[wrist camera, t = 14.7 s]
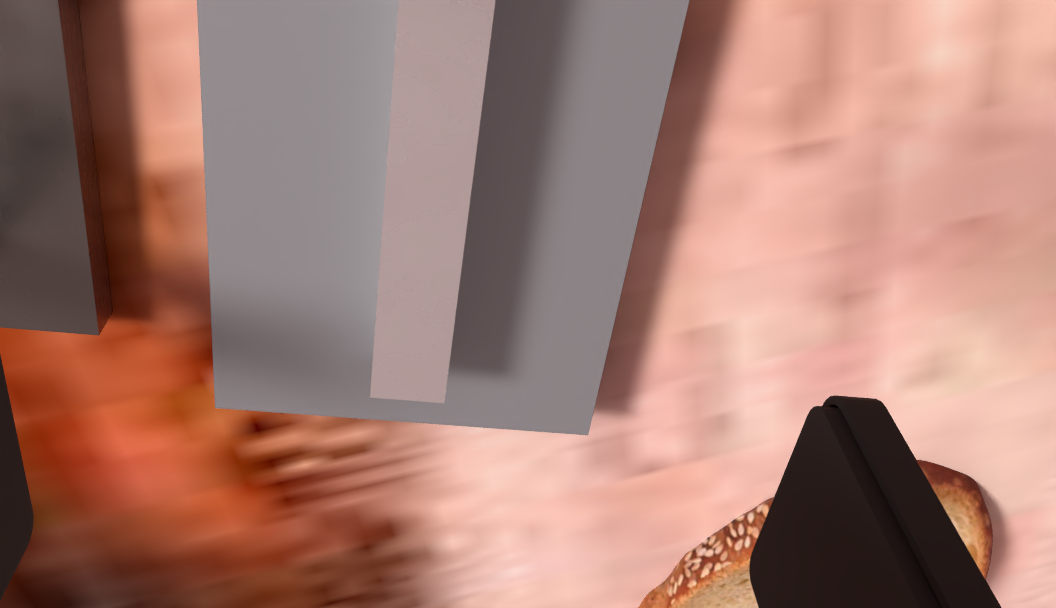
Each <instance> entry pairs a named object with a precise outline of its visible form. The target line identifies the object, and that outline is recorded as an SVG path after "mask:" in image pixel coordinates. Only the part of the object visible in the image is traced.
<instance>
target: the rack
mask: <svg viewBox="0 0 1056 608" xmlns="http://www.w3.org/2000/svg"><path fill="white" fill-rule="evenodd" d="M111 314H112V303H111V294H110V285H109V276H108V267H107V258H106V249H105V240H104V231H103V223H102V214H101V205H100V196H99V187H98V178H97V169H96V160H95V151H94V142H93V133H92V124H91V115H90V106H89V97H88V88H87V80H86V71H85V62H84V53H83V44H82V35H81V26H80V17H79V8H78V0H0V327H3V328H15V329H28V330H40V331H52V332H65V333H77V334H89V335H100V333H101V331H102V329H103V328H104V326H105V324H106V322H107V321H108V319H109V317H110V315H111Z"/></svg>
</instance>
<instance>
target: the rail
mask: <svg viewBox="0 0 1056 608" xmlns="http://www.w3.org/2000/svg"><path fill="white" fill-rule="evenodd" d="M494 8H495V0H399V3H398V17H397V31H396V45H395V58H394V72H393V86H392V100H391V114H390V128H389V141H388V155H387V169H386V183H385V197H384V210H383V224H382V238H381V252H380V266H379V280H378V293H377V307H376V321H375V335H374V349H373V362H372V376H371V390H370V398H383V399H395V400H408V401H421V402H434V403H444V402H445V394H446V386H447V378H448V371H449V363H450V355H451V347H452V339H453V331H454V323H455V315H456V308H457V300H458V292H459V284H460V276H461V268H462V260H463V252H464V245H465V237H466V229H467V221H468V213H469V205H470V197H471V189H472V182H473V174H474V166H475V158H476V150H477V142H478V134H479V126H480V119H481V111H482V103H483V95H484V87H485V79H486V71H487V63H488V56H489V48H490V40H491V32H492V24H493V16H494Z"/></svg>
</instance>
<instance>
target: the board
mask: <svg viewBox="0 0 1056 608" xmlns="http://www.w3.org/2000/svg"><path fill="white" fill-rule="evenodd" d="M398 3H399V0H197V11H198V33H199V56H200V78H201V101H202V123H203V146H204V168H205V191H206V213H207V235H208V258H209V280H210V303H211V325H212V348H213V370H214V392H215V408H223V409H237V410H251V411H264V412H278V413H292V414H305V415H319V416H333V417H346V418H360V419H374V420H387V421H401V422H415V423H429V424H442V425H456V426H470V427H483V428H497V429H511V430H524V431H538V432H552V433H565V434H579V435H588V433H589V429H590V425H591V420H592V416H593V412H594V407H595V403H596V399H597V394H598V390H599V386H600V382H601V377H602V373H603V369H604V364H605V360H606V356H607V352H608V347H609V343H610V339H611V334H612V330H613V326H614V322H615V317H616V313H617V309H618V304H619V300H620V296H621V292H622V287H623V283H624V279H625V274H626V270H627V266H628V262H629V257H630V253H631V249H632V244H633V240H634V236H635V232H636V227H637V223H638V219H639V214H640V210H641V206H642V202H643V197H644V193H645V189H646V184H647V180H648V176H649V172H650V167H651V163H652V159H653V154H654V150H655V146H656V142H657V137H658V133H659V129H660V124H661V120H662V116H663V112H664V107H665V103H666V99H667V94H668V90H669V86H670V81H671V77H672V73H673V69H674V64H675V60H676V56H677V51H678V47H679V43H680V39H681V34H682V30H683V26H684V21H685V17H686V13H687V9H688V4H689V0H495V8H494V16H493V24H492V32H491V40H490V48H489V56H488V63H487V71H486V79H485V87H484V95H483V103H482V111H481V119H480V126H479V134H478V142H477V150H476V158H475V166H474V174H473V182H472V189H471V197H470V205H469V213H468V221H467V229H466V237H465V245H464V252H463V260H462V268H461V276H460V284H459V292H458V300H457V308H456V315H455V323H454V331H453V339H452V347H451V355H450V363H449V371H448V378H447V386H446V394H445V402H444V403H434V402H421V401H408V400H395V399H383V398H370V390H371V376H372V362H373V349H374V335H375V321H376V307H377V293H378V280H379V266H380V252H381V238H382V224H383V210H384V197H385V183H386V169H387V155H388V141H389V128H390V114H391V100H392V86H393V72H394V58H395V45H396V31H397V17H398Z"/></svg>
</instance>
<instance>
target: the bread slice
mask: <svg viewBox="0 0 1056 608" xmlns="http://www.w3.org/2000/svg"><path fill="white" fill-rule="evenodd" d="M917 462H918V464H919V466H920V467H921V469H922V471H923V472H924V474H925V476H926V478H927V479H928V481H929V483H930V485H931V486H932V488H933V490H934V492H935V493H936V495H937V497H938V499H939V500H940V502H941V504H942V505H943V507H944V509H945V511H946V512H947V514H948V516H949V518H950V519H951V521H952V523H953V525H954V526H955V528H956V530H957V531H958V533H959V535H960V537H961V538H962V540H963V542H964V544H965V545H966V547H967V549H968V551H969V552H970V554H971V556H972V557H973V559H974V561H975V563H976V564H977V566H978V568H979V570H980V571H981V573H982V575H983V577H984V578H985V579H986V576H987V573H988V569H989V565H990V560H991V553H992V542H993V533H992V525H991V521H990V517H989V513H988V510H987V507H986V505H985V502H984V499H983V497H982V494H981V492H980V489H979V487H978V485H977V483H976V482H975V481H974V480H973V479H972V478H971V477H969V476H967V475H965V474H963V473H960V472H957V471H955V470H952V469H949V468H946V467H944V466H941V465H938V464H934V463H931V462H927V461H922V460H917ZM773 499H774V497H773V498H770V499H768V500H766V501H764V502H763V503H761V504H760V505H759V506H757V507H756V508H754V509H753V510H751V511H749V512H747V513H745V514H743V515H741V516H739V517H738V518H736V519H735V520H733V521H732V522H731V523H729V524H728V525H726V526H725V527H724V528H722V529H721V530H719V531H718V532H716V533H715V534H713V535H711V536H710V537H708V538H707V539H706V540H705V541H704V542H703V543H701V544H700V545H699V546H697V547H695V548H694V549H692V550H691V551H689V552H688V553H686V555H685V556H684V557H683V558H682V559H681V561H680V562H679V563H678V564H677V566H676V567H675V569H674V570H673V572H672V573H671V574H670V576H669V577H668V578H667V579H666V580H665V581H664V582H663V583H662V584H661V585H659V586H658V587H656V588H655V589H653V590H652V591H651V592H650V593H649V594H648V595H647V596H646V597H645V598H644V600H643V601H642V603H641V605H640V606H639V607H638V608H759V607H758V604H757V601H756V598H755V595H754V592H753V588H752V585H751V581H750V573H749V564H750V557H751V554H752V551H753V548H754V546H755V543H756V541H757V538H758V536H759V534H760V531H761V529H762V526H763V524H764V521H765V519H766V516H767V514H768V511H769V509H770V507H771V504H772V502H773Z"/></svg>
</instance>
